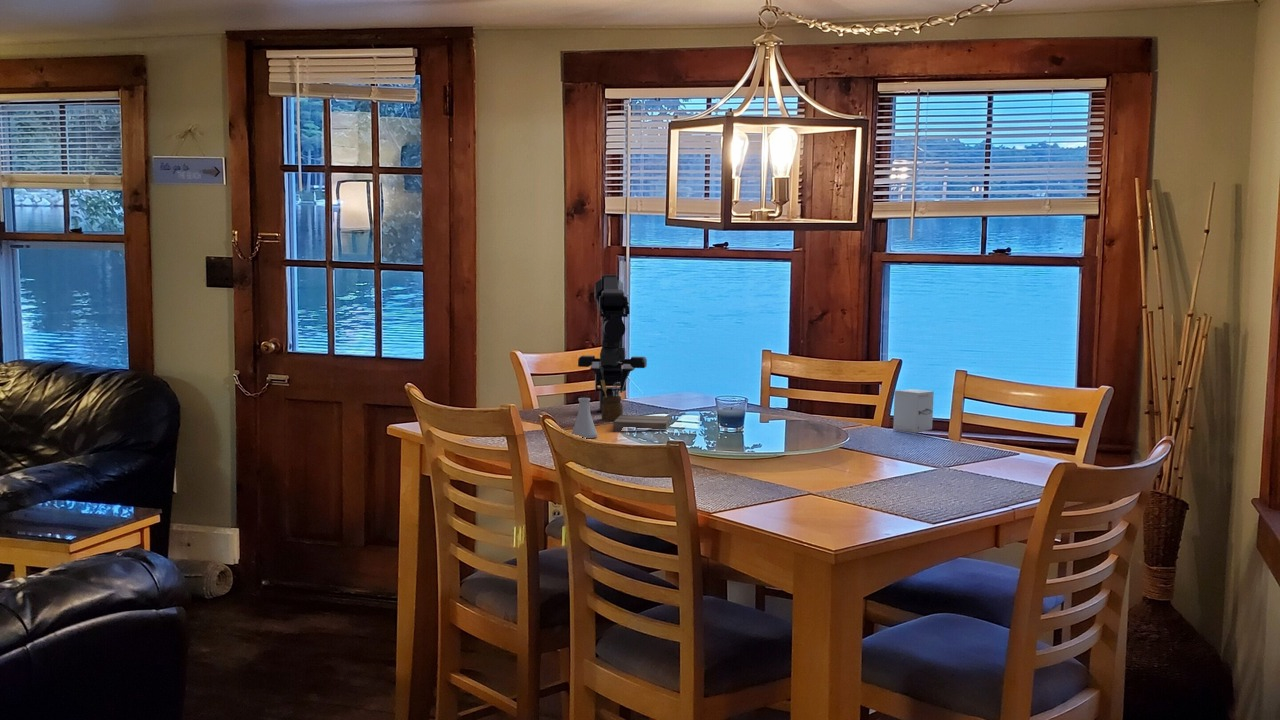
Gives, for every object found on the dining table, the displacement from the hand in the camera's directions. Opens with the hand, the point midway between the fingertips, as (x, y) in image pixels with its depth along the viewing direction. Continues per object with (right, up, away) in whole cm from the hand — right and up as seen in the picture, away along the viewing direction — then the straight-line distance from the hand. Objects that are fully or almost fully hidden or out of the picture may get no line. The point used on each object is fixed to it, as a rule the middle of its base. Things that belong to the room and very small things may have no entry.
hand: (612, 392), depth 321 cm
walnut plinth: (+9, -9, -11) cm, 17 cm away
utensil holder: (0, -8, +1) cm, 8 cm away
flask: (-7, -11, -28) cm, 30 cm away
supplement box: (+78, -12, -25) cm, 83 cm away
